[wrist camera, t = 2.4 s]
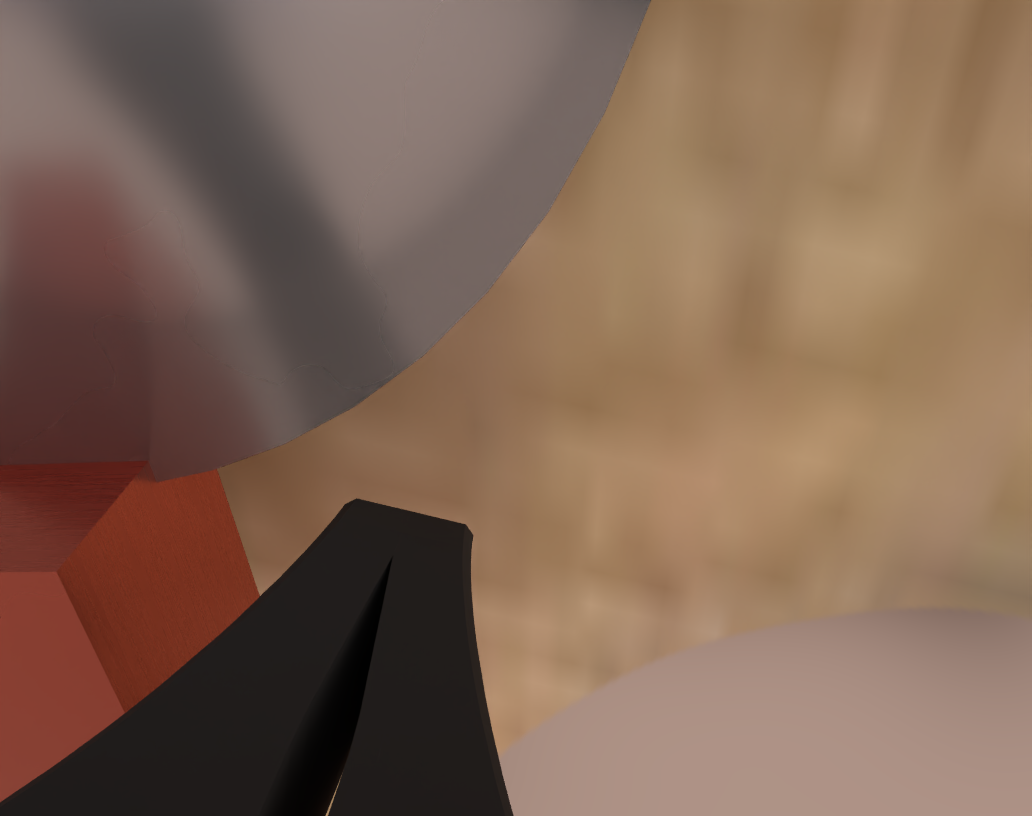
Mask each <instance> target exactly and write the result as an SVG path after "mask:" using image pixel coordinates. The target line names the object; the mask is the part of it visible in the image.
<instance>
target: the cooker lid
mask: <svg viewBox="0 0 1032 816" xmlns="http://www.w3.org/2000/svg"><path fill="white" fill-rule="evenodd" d="M650 1H651V0H0V802H1V801H3V800H4V799H6V798H7V797H9V796H10V795H12V794H13V793H14V792H16V791H17V790H19V789H20V788H22V787H23V786H25V785H26V784H28V783H29V782H31V781H32V780H34V779H35V778H37V777H38V776H40V775H41V774H43V773H44V772H45V771H47V770H48V769H50V768H51V767H53V766H54V765H56V764H57V763H58V762H60V761H61V760H63V759H64V758H65V757H67V756H68V755H69V754H71V753H72V752H74V751H75V750H76V749H78V748H79V747H80V746H82V745H83V744H84V743H86V742H87V741H89V740H90V739H91V738H93V737H94V736H95V735H97V734H98V733H99V732H101V731H102V730H104V729H105V728H106V727H107V726H109V725H110V724H111V723H113V722H114V721H115V720H117V719H118V718H119V717H121V716H122V715H123V714H125V713H126V712H127V711H128V710H130V709H131V708H132V707H133V706H135V705H136V704H137V703H138V702H140V701H141V700H142V699H144V698H145V697H146V696H147V695H149V694H150V693H151V692H152V691H154V690H155V689H156V688H157V687H159V686H160V685H161V684H162V683H163V682H165V681H166V680H167V679H168V678H169V677H170V676H172V675H173V674H174V673H175V672H176V671H177V670H179V669H180V668H181V667H182V666H183V665H184V664H186V663H187V662H188V661H189V660H190V659H191V658H193V657H194V656H195V655H196V654H197V653H198V652H200V651H201V650H202V649H203V648H204V647H205V646H207V645H208V644H209V643H210V642H211V641H213V640H214V639H215V638H216V637H217V636H218V635H220V634H221V633H222V632H223V631H224V630H225V629H226V628H227V627H228V626H229V625H231V624H232V623H233V622H234V621H235V620H236V619H237V618H238V617H239V616H240V615H241V614H242V613H243V612H244V611H245V610H246V609H247V608H249V607H250V606H251V605H252V604H253V603H254V602H255V601H256V600H257V599H258V598H259V597H260V596H259V593H258V590H257V587H256V584H255V581H254V578H253V575H252V572H251V569H250V566H249V563H248V560H247V557H246V554H245V551H244V548H243V545H242V542H241V539H240V536H239V533H238V530H237V527H236V525H235V522H234V519H233V516H232V513H231V510H230V507H229V504H228V501H227V498H226V495H225V492H224V489H223V486H222V483H221V480H220V477H219V474H218V471H217V468H220V467H223V466H226V465H228V464H231V463H234V462H237V461H239V460H242V459H245V458H248V457H250V456H253V455H256V454H259V453H261V452H264V451H267V450H270V449H272V448H275V447H278V446H281V445H283V444H286V443H287V442H289V441H291V440H293V439H295V438H297V437H299V436H301V435H302V434H304V433H306V432H308V431H310V430H312V429H314V428H316V427H317V426H319V425H321V424H323V423H325V422H327V421H329V420H331V419H332V418H334V417H336V416H338V415H340V414H342V413H344V412H345V411H347V410H349V409H351V408H353V407H355V406H356V405H357V404H359V403H360V402H362V401H363V400H364V399H366V398H367V397H368V396H370V395H371V394H372V393H374V392H375V391H376V390H378V389H379V388H381V387H382V386H383V385H385V384H386V383H387V382H389V381H390V380H391V379H393V378H394V377H395V376H397V375H398V374H399V373H401V372H402V371H404V370H405V369H406V368H408V367H409V366H410V365H412V364H413V363H414V362H416V361H417V360H418V359H420V358H421V357H422V356H424V355H425V354H426V353H427V352H428V351H429V350H430V349H431V348H432V347H433V346H434V345H435V344H436V343H437V342H438V341H439V340H440V339H441V338H442V337H443V336H444V335H445V334H446V333H447V332H448V331H449V330H450V329H451V328H452V327H453V326H454V325H455V324H456V323H457V322H458V321H459V320H460V319H461V318H462V317H463V316H464V315H465V314H466V313H467V312H468V311H469V310H470V309H471V308H472V307H473V306H474V305H475V304H476V303H477V302H478V301H479V300H480V299H481V298H482V297H483V296H484V295H485V294H486V293H487V292H488V291H489V289H490V288H491V287H492V286H493V284H494V283H495V282H496V280H497V279H498V278H499V276H500V275H501V274H502V272H503V271H504V270H505V268H506V267H507V266H508V264H509V263H510V262H511V260H512V259H513V258H514V257H515V255H516V254H517V253H518V251H519V250H520V249H521V247H522V246H523V245H524V243H525V242H526V241H527V239H528V238H529V237H530V235H531V234H532V233H533V232H534V230H535V229H536V228H537V226H538V225H539V224H540V222H541V221H542V220H543V218H544V217H545V216H546V214H547V213H548V212H549V210H550V208H551V207H552V205H553V203H554V201H555V199H556V198H557V196H558V194H559V192H560V191H561V189H562V187H563V185H564V184H565V182H566V180H567V178H568V177H569V175H570V173H571V171H572V169H573V168H574V166H575V164H576V162H577V161H578V159H579V157H580V155H581V154H582V152H583V150H584V148H585V147H586V145H587V143H588V141H589V139H590V138H591V136H592V134H593V132H594V131H595V129H596V127H597V125H598V124H599V122H600V120H601V118H602V117H603V115H604V113H605V111H606V108H607V106H608V103H609V101H610V99H611V96H612V94H613V91H614V89H615V86H616V84H617V82H618V79H619V77H620V74H621V72H622V69H623V67H624V65H625V62H626V60H627V57H628V55H629V52H630V50H631V48H632V45H633V43H634V40H635V38H636V35H637V33H638V31H639V28H640V26H641V23H642V21H643V18H644V16H645V13H646V11H647V9H648V6H649V4H650Z"/></svg>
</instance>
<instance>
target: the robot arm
mask: <svg viewBox="0 0 1032 816" xmlns="http://www.w3.org/2000/svg"><path fill="white" fill-rule="evenodd" d="M472 541H473V534H472V533H471V531H470V530H469V528H468V527H467V526H466V524H461V523H457V522H453V521H449V520H445V519H441V518H436V517H432V516H428V515H424V514H420V513H415V512H411V511H407V510H403V509H399V508H395V507H390V506H386V505H382V504H378V503H374V502H369V501H365V500H361V499H355V500H353V501H351V502H349V503H347V504H345V505H344V506H343V508H342V509H341V510H340V512H339V513H338V514H337V515H336V517H335V518H334V519H333V520H332V521H331V523H330V524H329V525H328V526H327V527H326V528H325V530H324V531H323V532H322V533H321V534H320V535H319V537H318V538H317V539H316V540H315V541H314V542H313V543H312V544H311V545H310V546H309V548H308V549H307V550H306V551H305V552H304V553H303V554H302V555H301V556H300V557H299V558H298V559H297V560H296V561H295V562H294V563H293V564H292V565H291V566H290V567H289V569H288V570H287V571H286V572H285V573H284V574H283V575H282V576H281V577H280V578H279V579H278V580H277V581H276V582H275V583H274V584H273V585H271V586H270V587H269V588H268V589H267V590H266V591H265V592H264V593H263V594H262V595H261V596H260V597H259V598H258V599H257V600H256V601H255V602H254V603H253V604H252V605H251V606H250V607H249V608H247V609H246V610H245V611H244V612H243V613H242V614H241V615H240V616H239V617H238V618H237V619H236V620H235V621H234V622H233V623H232V624H231V625H229V626H228V627H227V628H226V629H225V630H224V631H223V632H222V633H221V634H220V635H218V636H217V637H216V638H215V639H214V640H213V641H211V642H210V643H209V644H208V645H207V646H205V647H204V648H203V649H202V650H201V651H200V652H198V653H197V654H196V655H195V656H194V657H193V658H191V659H190V660H189V661H188V662H187V663H186V664H184V665H183V666H182V667H181V668H180V669H179V670H177V671H176V672H175V673H174V674H173V675H172V676H170V677H169V678H168V679H167V680H166V681H165V682H163V683H162V684H161V685H160V686H159V687H157V688H156V689H155V690H154V691H152V692H151V693H150V694H149V695H147V696H146V697H145V698H144V699H142V700H141V701H140V702H138V703H137V704H136V705H135V706H133V707H132V708H131V709H130V710H128V711H127V712H126V713H125V714H123V715H122V716H121V717H119V718H118V719H117V720H115V721H114V722H113V723H111V724H110V725H109V726H107V727H106V728H105V729H104V730H102V731H101V732H99V733H98V734H97V735H95V736H94V737H93V738H91V739H90V740H89V741H87V742H86V743H84V744H83V745H82V746H80V747H79V748H78V749H76V750H75V751H74V752H72V753H71V754H69V755H68V756H67V757H65V758H64V759H63V760H61V761H60V762H58V763H57V764H56V765H54V766H53V767H51V768H50V769H48V770H47V771H45V772H44V773H43V774H41V775H40V776H38V777H37V778H35V779H34V780H32V781H31V782H29V783H28V784H26V785H25V786H23V787H22V788H20V789H19V790H17V791H16V792H14V793H13V794H12V795H10V796H9V797H7V798H6V799H4V800H3V801H1V802H0V816H325V815H326V813H327V810H328V808H329V805H330V803H331V800H332V798H333V795H334V793H335V790H336V788H337V785H338V783H339V785H338V788H337V791H336V794H335V797H334V800H333V803H332V806H331V809H330V812H329V815H328V816H513V812H512V809H511V805H510V802H509V798H508V794H507V790H506V786H505V783H504V779H503V775H502V771H501V766H500V762H499V758H498V753H497V749H496V745H495V740H494V736H493V732H492V727H491V722H490V717H489V713H488V708H487V703H486V698H485V692H484V685H483V679H482V673H481V667H480V661H479V655H478V649H477V642H476V634H475V626H474V616H473V604H472V592H471V549H472ZM343 770H344V771H343ZM342 773H343V774H342ZM341 775H342V777H341ZM340 778H341V779H340ZM339 780H340V782H339Z"/></svg>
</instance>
